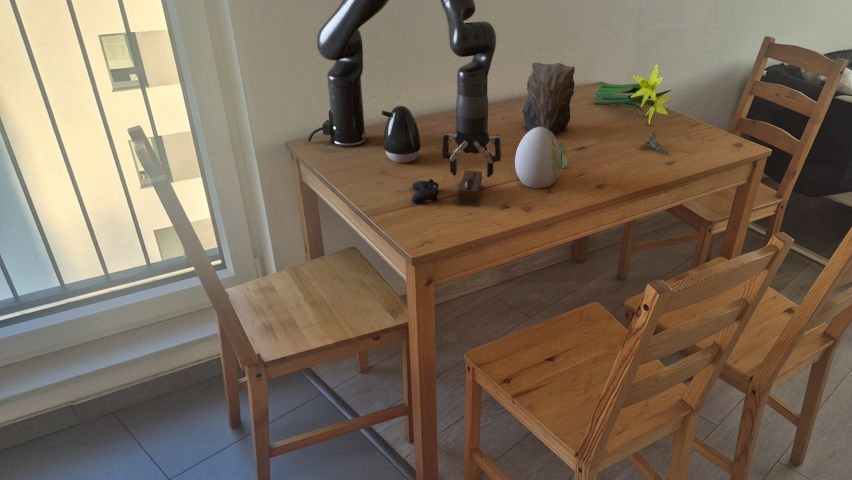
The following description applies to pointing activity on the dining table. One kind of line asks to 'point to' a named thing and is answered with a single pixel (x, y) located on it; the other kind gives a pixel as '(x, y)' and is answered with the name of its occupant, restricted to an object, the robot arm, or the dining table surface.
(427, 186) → the game controller
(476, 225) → the dining table surface
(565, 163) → the seedling
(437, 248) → the dining table surface
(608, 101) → the daffodil flowers
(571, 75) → the owl
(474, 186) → the scrub brush
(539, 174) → the decorative egg
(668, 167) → the dining table surface
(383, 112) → the pump dispenser
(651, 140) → the dragon figurine
